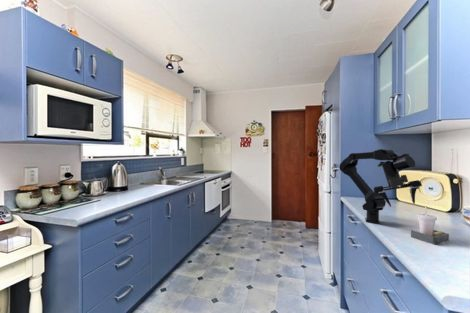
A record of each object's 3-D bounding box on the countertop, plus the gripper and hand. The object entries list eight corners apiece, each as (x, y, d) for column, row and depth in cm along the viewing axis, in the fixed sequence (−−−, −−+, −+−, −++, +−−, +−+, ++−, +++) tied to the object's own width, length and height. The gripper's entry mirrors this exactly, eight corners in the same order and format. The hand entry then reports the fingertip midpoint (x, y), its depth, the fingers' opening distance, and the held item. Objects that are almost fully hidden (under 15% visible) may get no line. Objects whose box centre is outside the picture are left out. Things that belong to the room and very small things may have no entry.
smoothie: (413, 234, 100) (414, 204, 100) (429, 235, 99) (430, 204, 99) (422, 240, 94) (423, 207, 94) (440, 241, 93) (441, 208, 93)
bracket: (410, 236, 98) (411, 228, 98) (424, 233, 102) (424, 224, 102) (435, 244, 90) (435, 235, 90) (448, 240, 94) (448, 231, 94)
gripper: (370, 174, 107) (380, 207, 102) (417, 166, 98) (431, 201, 93) (370, 177, 116) (379, 207, 111) (413, 170, 107) (425, 202, 103)
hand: (402, 205), depth 104 cm, fingers open, 9 cm apart
